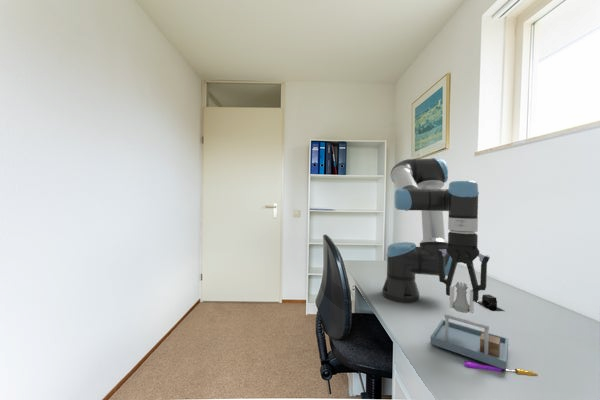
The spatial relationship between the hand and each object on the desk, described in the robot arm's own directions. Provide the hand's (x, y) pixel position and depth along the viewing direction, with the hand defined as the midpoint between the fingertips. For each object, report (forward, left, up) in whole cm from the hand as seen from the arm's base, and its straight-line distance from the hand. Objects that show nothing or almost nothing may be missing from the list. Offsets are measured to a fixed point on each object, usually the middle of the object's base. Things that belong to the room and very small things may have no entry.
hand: (461, 308), depth 77 cm
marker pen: (+9, -8, -10) cm, 16 cm away
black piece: (+4, +38, -10) cm, 39 cm away
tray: (+2, -3, -10) cm, 10 cm away
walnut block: (+7, -6, -8) cm, 12 cm away
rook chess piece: (0, 0, 0) cm, 0 cm away
